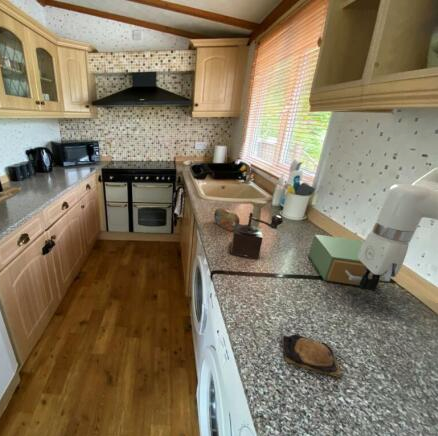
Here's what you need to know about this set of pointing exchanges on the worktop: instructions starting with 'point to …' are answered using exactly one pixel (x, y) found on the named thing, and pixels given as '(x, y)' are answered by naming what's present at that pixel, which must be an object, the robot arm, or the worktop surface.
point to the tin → (226, 218)
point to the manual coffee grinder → (250, 237)
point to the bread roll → (310, 355)
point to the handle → (257, 211)
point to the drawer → (346, 272)
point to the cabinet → (333, 252)
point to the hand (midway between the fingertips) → (366, 288)
